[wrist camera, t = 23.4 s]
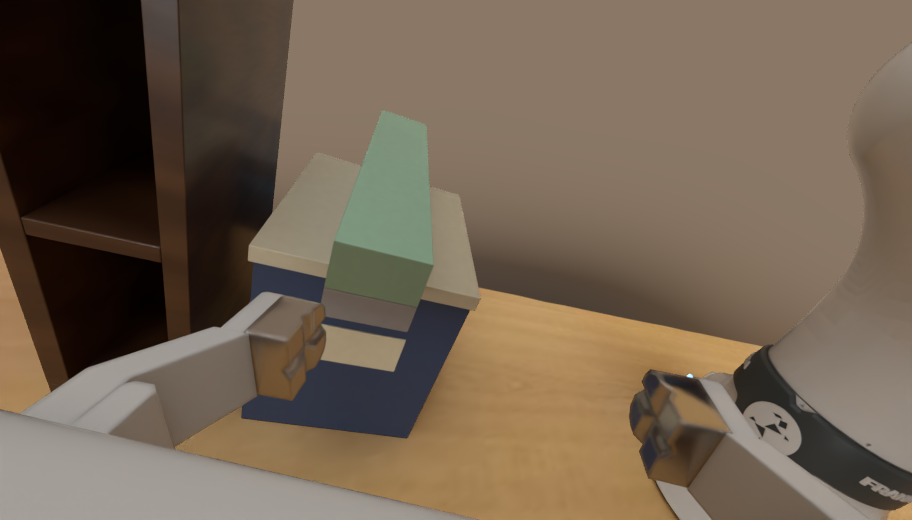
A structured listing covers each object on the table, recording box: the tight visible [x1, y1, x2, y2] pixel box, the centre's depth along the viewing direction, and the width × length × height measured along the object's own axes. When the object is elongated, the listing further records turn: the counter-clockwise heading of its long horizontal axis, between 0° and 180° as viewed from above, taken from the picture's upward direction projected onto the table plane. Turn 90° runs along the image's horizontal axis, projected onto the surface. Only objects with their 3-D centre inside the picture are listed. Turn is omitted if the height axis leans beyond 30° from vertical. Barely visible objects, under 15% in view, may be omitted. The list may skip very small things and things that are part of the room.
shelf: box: [0, 0, 293, 392], centre depth 23 cm, size 14×8×26 cm, turn 5°
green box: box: [321, 110, 434, 332], centre depth 25 cm, size 22×4×4 cm, turn 2°
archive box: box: [242, 152, 481, 438], centre depth 30 cm, size 14×12×15 cm
